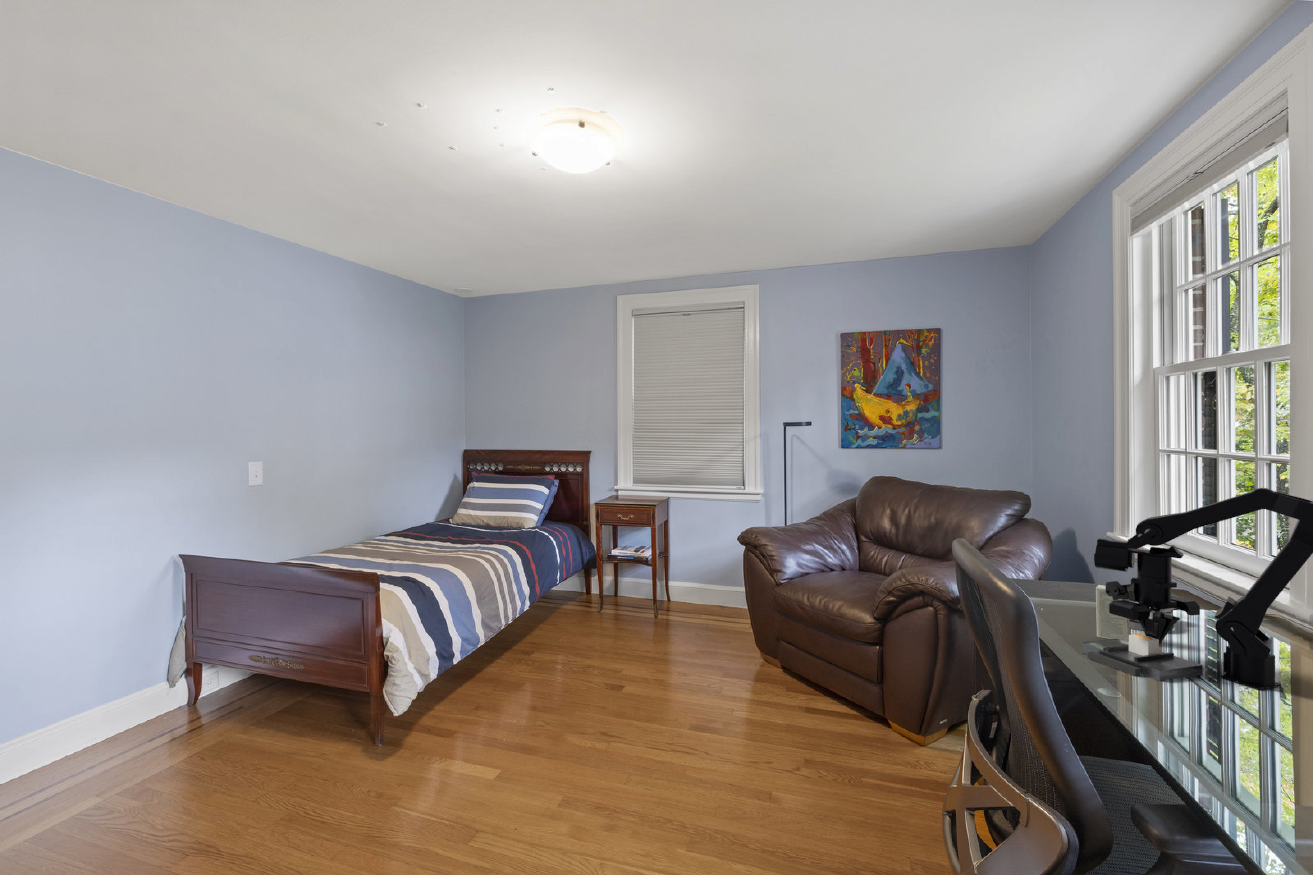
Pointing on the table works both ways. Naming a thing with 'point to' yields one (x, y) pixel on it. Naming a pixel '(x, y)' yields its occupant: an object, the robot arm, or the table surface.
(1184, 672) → the panel
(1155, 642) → the breaker lever
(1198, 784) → the table surface
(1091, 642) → the dark grey bar far
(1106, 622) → the skincare box
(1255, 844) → the table surface
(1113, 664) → the dark grey bar
